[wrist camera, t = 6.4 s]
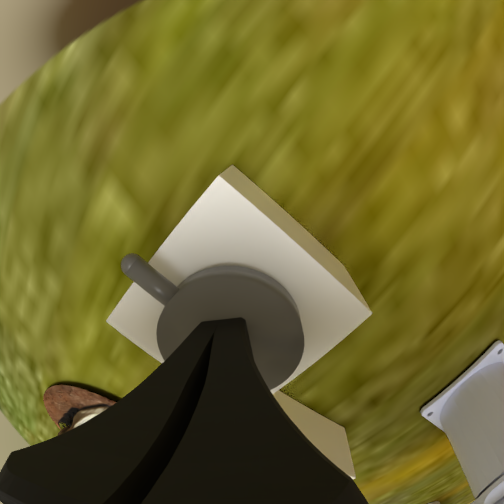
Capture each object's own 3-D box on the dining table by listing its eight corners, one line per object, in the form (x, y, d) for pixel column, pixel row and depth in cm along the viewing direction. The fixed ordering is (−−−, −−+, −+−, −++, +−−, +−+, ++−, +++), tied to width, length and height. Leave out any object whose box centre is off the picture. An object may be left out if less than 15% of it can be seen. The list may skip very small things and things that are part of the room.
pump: (313, 280, 13) (334, 341, 9) (244, 344, 15) (238, 414, 10) (197, 179, 12) (162, 200, 8) (134, 260, 13) (87, 310, 9)
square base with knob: (343, 265, 15) (372, 313, 10) (247, 352, 16) (243, 414, 12) (232, 164, 13) (219, 175, 9) (142, 274, 15) (105, 321, 11)
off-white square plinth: (344, 427, 19) (355, 477, 15) (276, 466, 21) (277, 511, 17) (274, 387, 17) (276, 446, 13) (205, 434, 19) (197, 484, 15)
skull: (53, 353, 16) (102, 506, 11) (164, 363, 25) (217, 471, 19) (17, 411, 19) (50, 516, 13) (104, 414, 27) (140, 499, 22)
